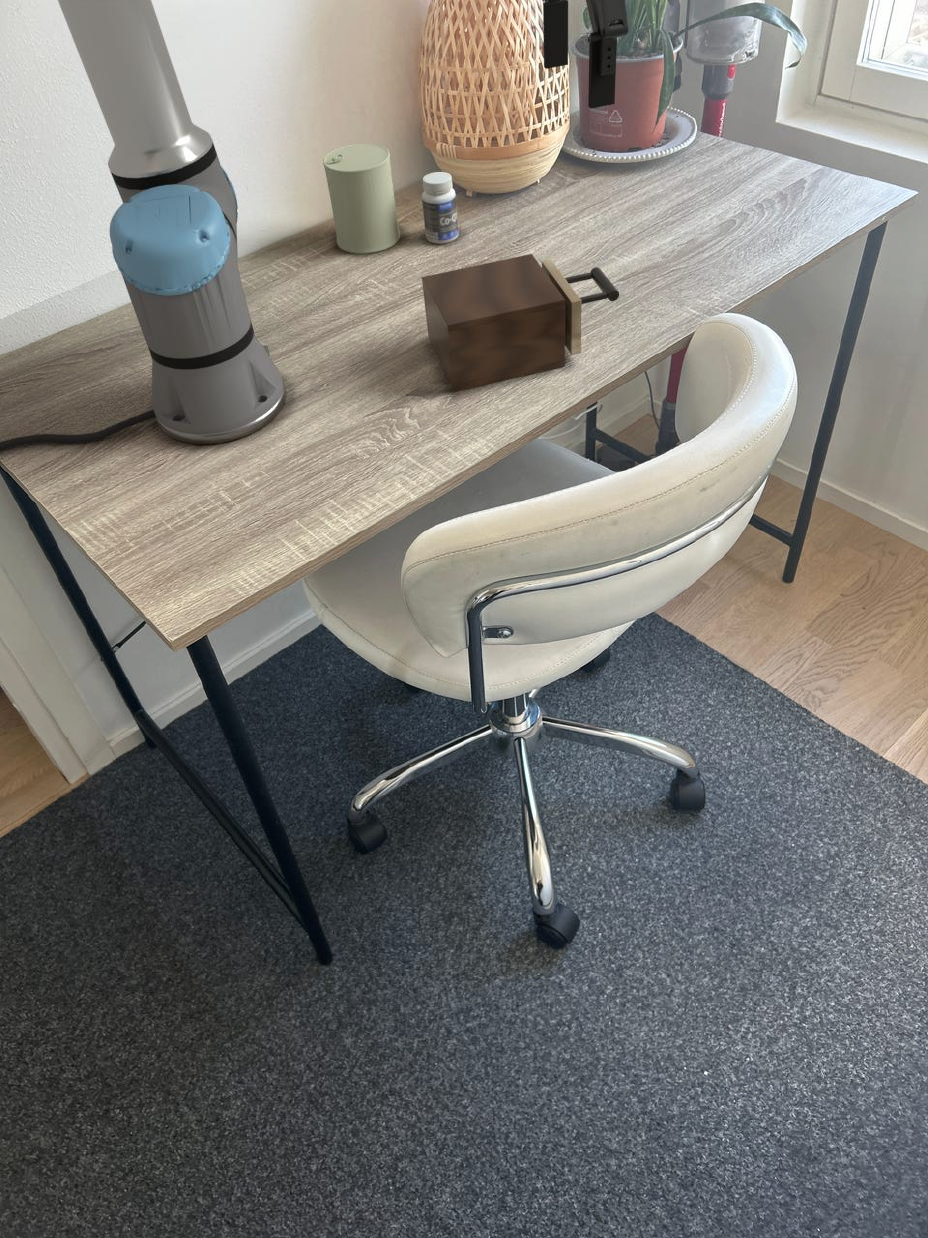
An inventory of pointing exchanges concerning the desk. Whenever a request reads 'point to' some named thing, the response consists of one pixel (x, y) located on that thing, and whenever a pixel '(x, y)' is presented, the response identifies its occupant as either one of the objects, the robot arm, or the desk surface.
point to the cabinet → (495, 321)
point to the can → (362, 197)
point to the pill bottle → (439, 208)
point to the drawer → (577, 299)
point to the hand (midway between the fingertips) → (577, 84)
